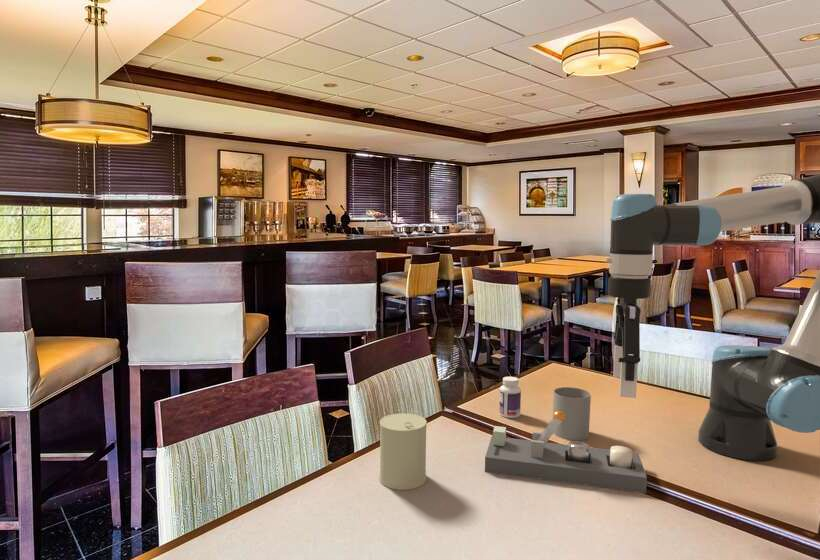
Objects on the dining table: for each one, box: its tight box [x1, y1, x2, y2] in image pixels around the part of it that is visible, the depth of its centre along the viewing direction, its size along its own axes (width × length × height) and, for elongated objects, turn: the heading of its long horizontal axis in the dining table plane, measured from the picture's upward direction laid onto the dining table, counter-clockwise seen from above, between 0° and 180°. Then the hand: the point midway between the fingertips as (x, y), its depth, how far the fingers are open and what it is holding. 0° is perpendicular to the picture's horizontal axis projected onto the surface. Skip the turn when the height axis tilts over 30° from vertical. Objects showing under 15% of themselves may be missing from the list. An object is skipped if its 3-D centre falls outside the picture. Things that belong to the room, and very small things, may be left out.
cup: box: [552, 386, 592, 441], centre depth 126 cm, size 8×8×10 cm
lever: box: [537, 411, 565, 446], centre depth 108 cm, size 2×3×9 cm
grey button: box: [567, 440, 590, 463], centre depth 106 cm, size 4×4×4 cm
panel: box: [484, 431, 648, 494], centre depth 107 cm, size 30×11×6 cm, turn 74°
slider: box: [492, 425, 507, 446], centre depth 113 cm, size 2×3×3 cm
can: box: [378, 412, 428, 491], centre depth 103 cm, size 9×9×12 cm
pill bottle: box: [498, 376, 522, 419], centre depth 137 cm, size 5×5×10 cm
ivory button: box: [609, 445, 633, 469], centre depth 104 cm, size 4×4×4 cm
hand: (623, 386), depth 103 cm, fingers open, 12 cm apart
